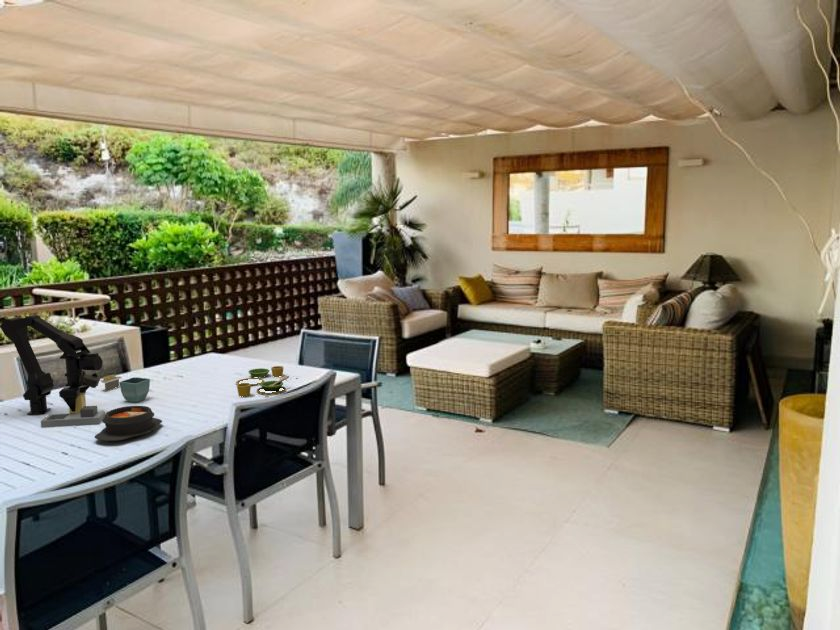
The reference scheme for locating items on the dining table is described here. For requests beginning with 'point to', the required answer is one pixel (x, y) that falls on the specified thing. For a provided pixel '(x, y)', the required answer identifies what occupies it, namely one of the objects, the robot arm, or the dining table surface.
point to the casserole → (127, 423)
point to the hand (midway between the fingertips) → (77, 408)
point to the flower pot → (135, 389)
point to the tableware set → (268, 385)
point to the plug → (79, 403)
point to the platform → (110, 382)
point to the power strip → (74, 418)
